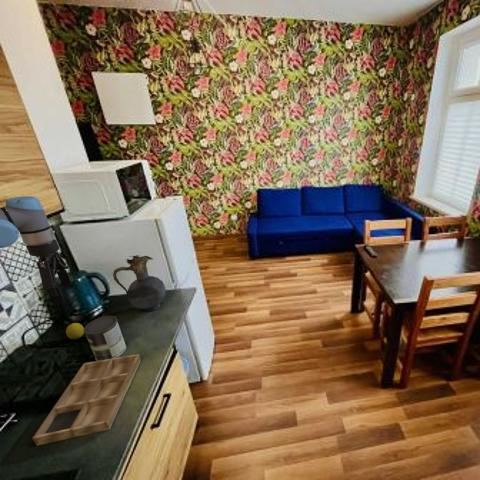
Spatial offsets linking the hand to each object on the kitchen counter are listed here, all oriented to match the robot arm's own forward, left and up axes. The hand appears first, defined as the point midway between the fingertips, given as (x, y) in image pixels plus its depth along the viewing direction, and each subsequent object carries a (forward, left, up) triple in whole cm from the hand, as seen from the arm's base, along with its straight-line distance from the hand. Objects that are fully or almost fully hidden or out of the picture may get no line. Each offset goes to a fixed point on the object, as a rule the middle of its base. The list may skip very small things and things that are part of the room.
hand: (63, 293), depth 99 cm
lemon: (-7, +7, -27) cm, 28 cm away
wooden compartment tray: (+14, -26, -27) cm, 40 cm away
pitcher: (+15, +23, -27) cm, 39 cm away
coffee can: (+10, -5, -27) cm, 29 cm away
